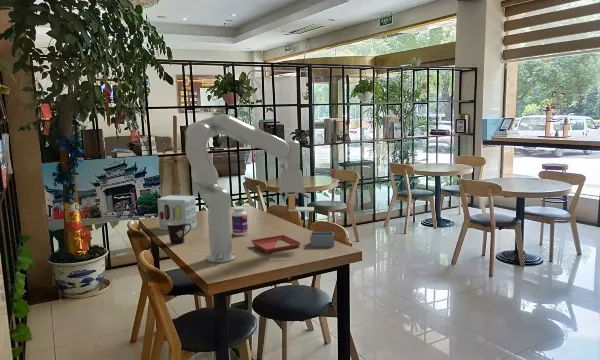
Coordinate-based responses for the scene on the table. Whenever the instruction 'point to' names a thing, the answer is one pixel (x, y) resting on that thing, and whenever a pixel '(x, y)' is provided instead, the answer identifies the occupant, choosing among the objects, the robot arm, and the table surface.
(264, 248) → the plant saucer
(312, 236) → the tub
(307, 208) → the white tan l-shaped piece
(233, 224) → the pill bottle
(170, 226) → the coffee mug
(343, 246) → the table surface
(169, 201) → the supplement box
